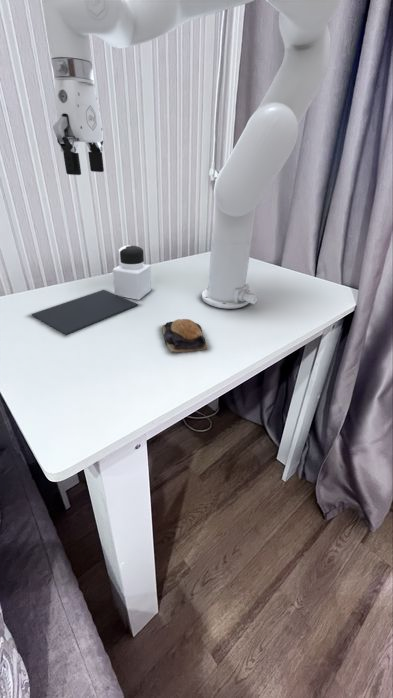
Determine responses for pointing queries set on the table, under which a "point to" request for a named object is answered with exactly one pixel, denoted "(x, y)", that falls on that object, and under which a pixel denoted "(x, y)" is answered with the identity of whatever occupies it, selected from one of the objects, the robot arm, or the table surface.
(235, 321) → the table surface
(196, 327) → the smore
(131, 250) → the medicine bottle
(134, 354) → the table surface
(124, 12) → the robot arm
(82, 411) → the table surface
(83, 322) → the mat
